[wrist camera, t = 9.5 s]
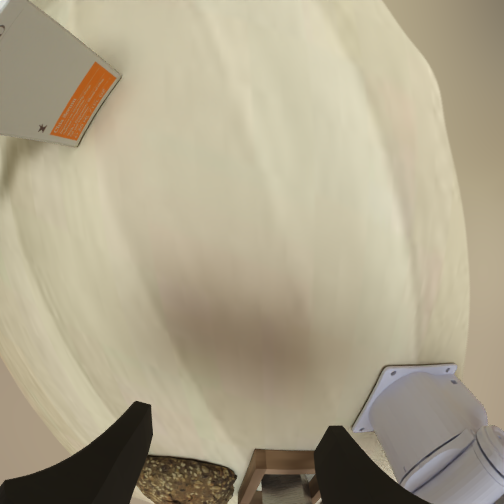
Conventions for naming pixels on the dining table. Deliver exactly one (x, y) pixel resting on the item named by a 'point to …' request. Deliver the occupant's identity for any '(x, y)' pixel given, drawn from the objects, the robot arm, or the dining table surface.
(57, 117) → the skincare box
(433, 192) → the dining table surface
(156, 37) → the dining table surface
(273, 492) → the steel bracket block
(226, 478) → the bread roll
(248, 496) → the wooden frame
